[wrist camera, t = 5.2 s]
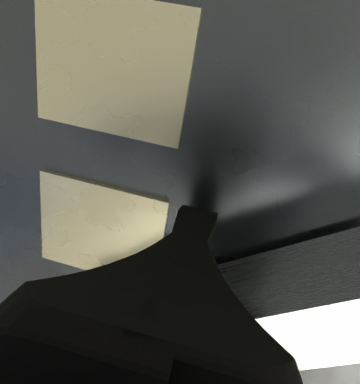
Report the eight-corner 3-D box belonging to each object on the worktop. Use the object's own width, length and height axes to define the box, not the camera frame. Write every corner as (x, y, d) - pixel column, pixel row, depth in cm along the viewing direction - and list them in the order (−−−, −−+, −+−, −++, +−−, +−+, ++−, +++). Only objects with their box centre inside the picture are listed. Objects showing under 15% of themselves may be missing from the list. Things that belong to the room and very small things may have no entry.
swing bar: (64, 306, 14) (19, 364, 11) (486, 192, 9) (591, 254, 6) (87, 338, 15) (49, 402, 12) (498, 251, 9) (598, 332, 6)
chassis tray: (-45, 291, 18) (-141, 366, 14) (-132, -174, 10) (-437, -355, 5) (274, 392, 15) (282, 522, 11) (507, -109, 7) (855, -338, 3)
